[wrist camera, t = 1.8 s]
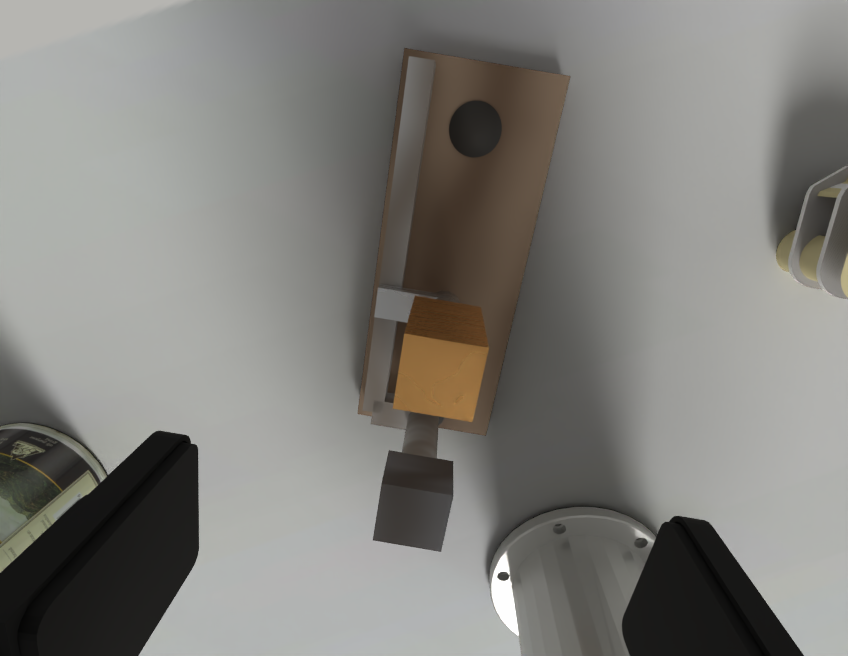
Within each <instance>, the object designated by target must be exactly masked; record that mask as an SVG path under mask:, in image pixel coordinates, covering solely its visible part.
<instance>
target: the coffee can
mask: <svg viewBox="0 0 848 656" xmlns="http://www.w3.org/2000/svg"><path fill="white" fill-rule="evenodd" d="M106 477H107V475H106V473H105V472H104V470H103V468H102V467H101V465H100V463H99V462H98V461H97V460H96V459H95V458H94V457H93V456H92V454H91V453H90V452H89V451H88V450H86V449H85V448H84V447H83V446H82V445H81V444H79V443H78V442H77V441H75V440H74V439H72V438H70V437H69V436H67V435H65V434H63V433H61V432H59V431H56V430H54V429H52V428H49V427H45V426H41V425H36V424H29V423H15V424H8V425H4V426H0V573H1V572H2V571H3V570H4V569H5V568H6V567H7V566H8V565H9V564H10V563H11V562H12V561H14V560H15V559H16V558H17V557H18V556H19V555H20V554H21V553H22V552H23V551H24V550H25V549H26V548H27V547H29V546H30V545H31V544H32V543H33V542H34V541H35V540H36V539H37V538H38V537H39V536H40V535H41V534H42V533H44V532H45V531H46V530H47V529H48V528H49V527H50V526H51V525H52V524H53V523H54V522H55V521H56V520H58V519H59V518H60V517H61V516H62V515H63V514H64V513H65V512H66V511H67V510H68V509H69V508H70V507H71V506H73V505H74V504H75V503H76V502H77V501H78V500H79V499H81V498H82V497H84V496H85V495H88V494H89V493H90V492H91V491H92V490H93V489H94V488H95V487H96V486H98V485H99V484H100V483H101V482H102V481H103V480H104V479H105V478H106Z"/></svg>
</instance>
